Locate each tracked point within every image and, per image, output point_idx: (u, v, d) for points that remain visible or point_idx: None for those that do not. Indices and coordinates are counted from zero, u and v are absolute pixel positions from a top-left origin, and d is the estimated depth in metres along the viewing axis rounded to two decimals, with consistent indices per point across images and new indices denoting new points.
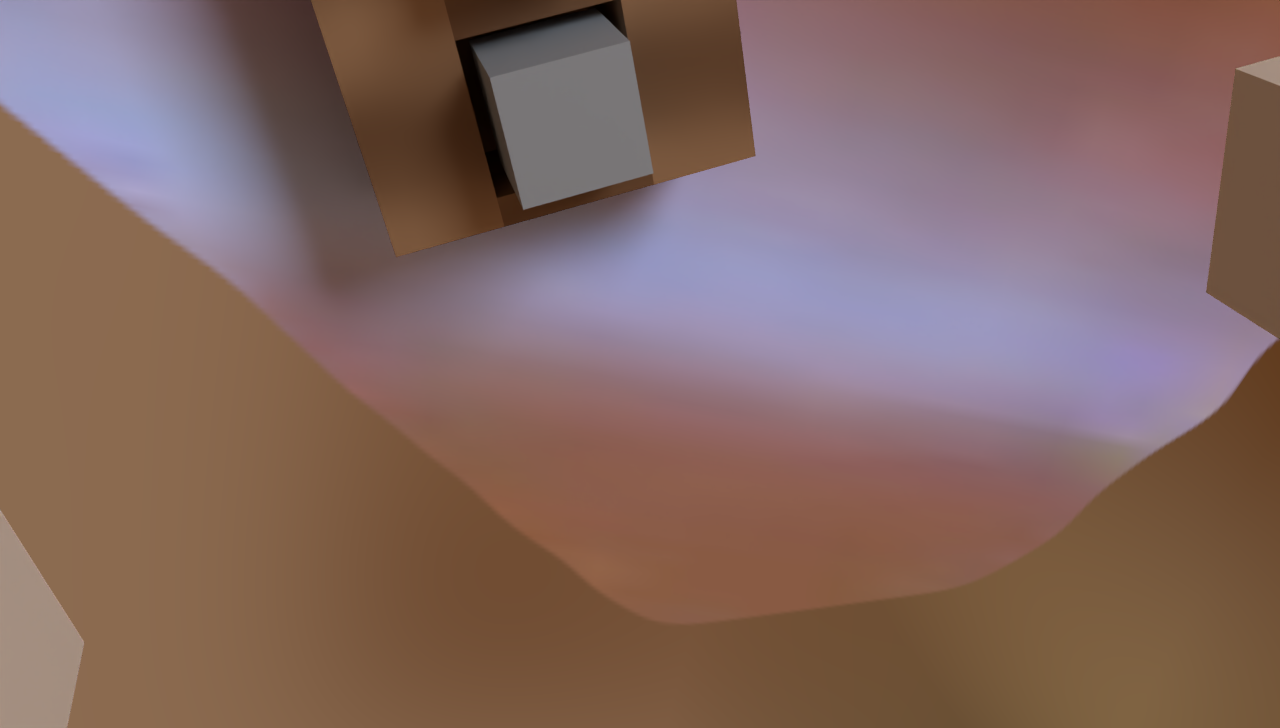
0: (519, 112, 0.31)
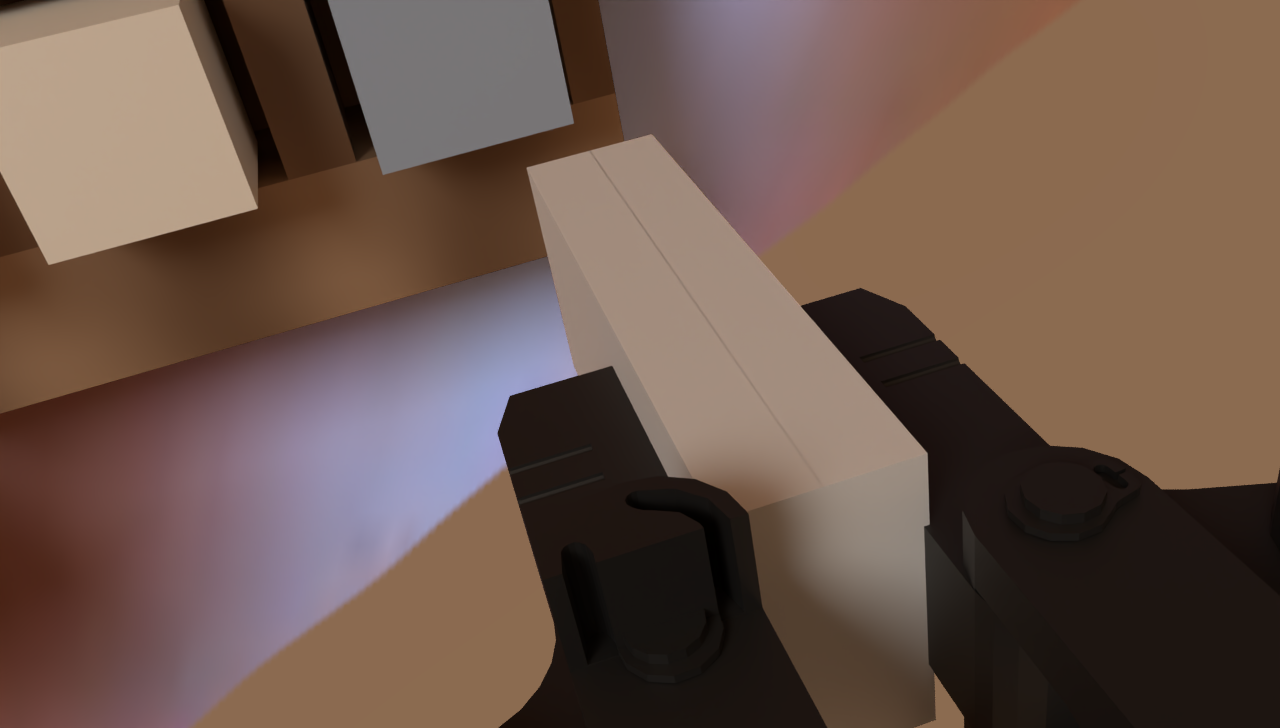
0: (431, 133, 0.22)
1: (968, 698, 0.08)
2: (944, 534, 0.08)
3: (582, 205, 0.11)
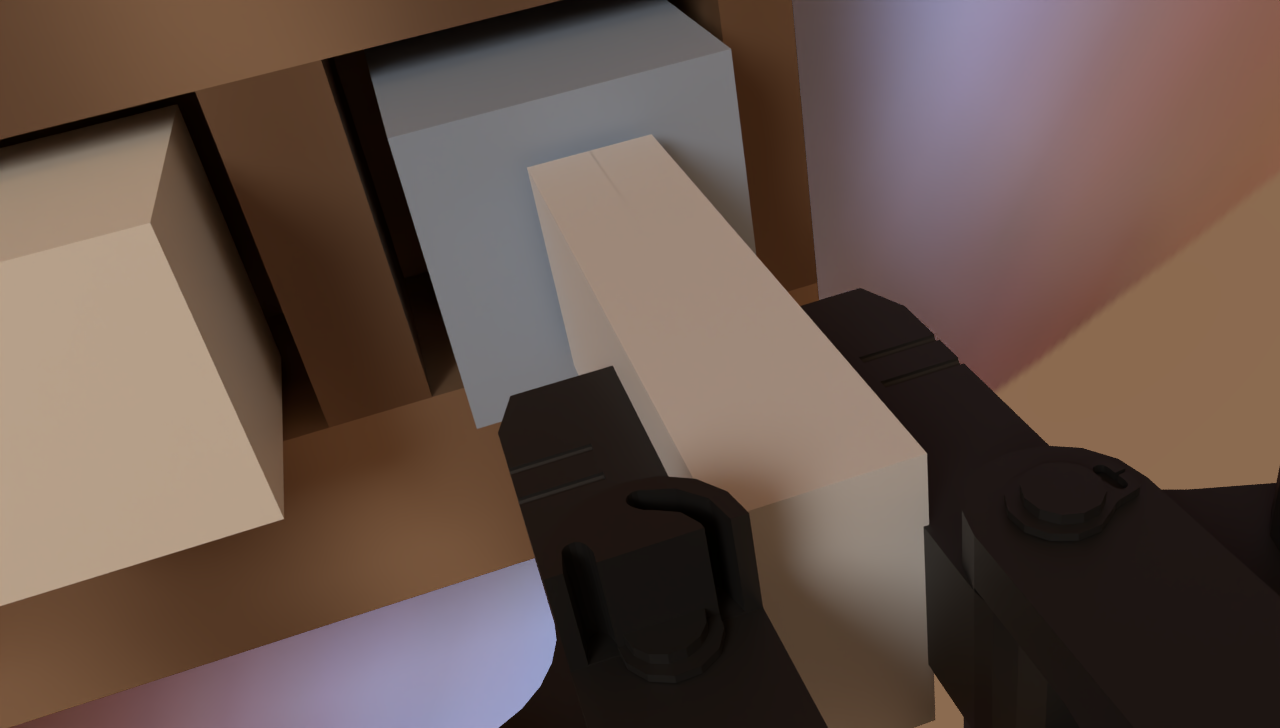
0: (552, 367, 0.14)
1: (968, 700, 0.08)
2: (944, 534, 0.08)
3: (582, 205, 0.11)
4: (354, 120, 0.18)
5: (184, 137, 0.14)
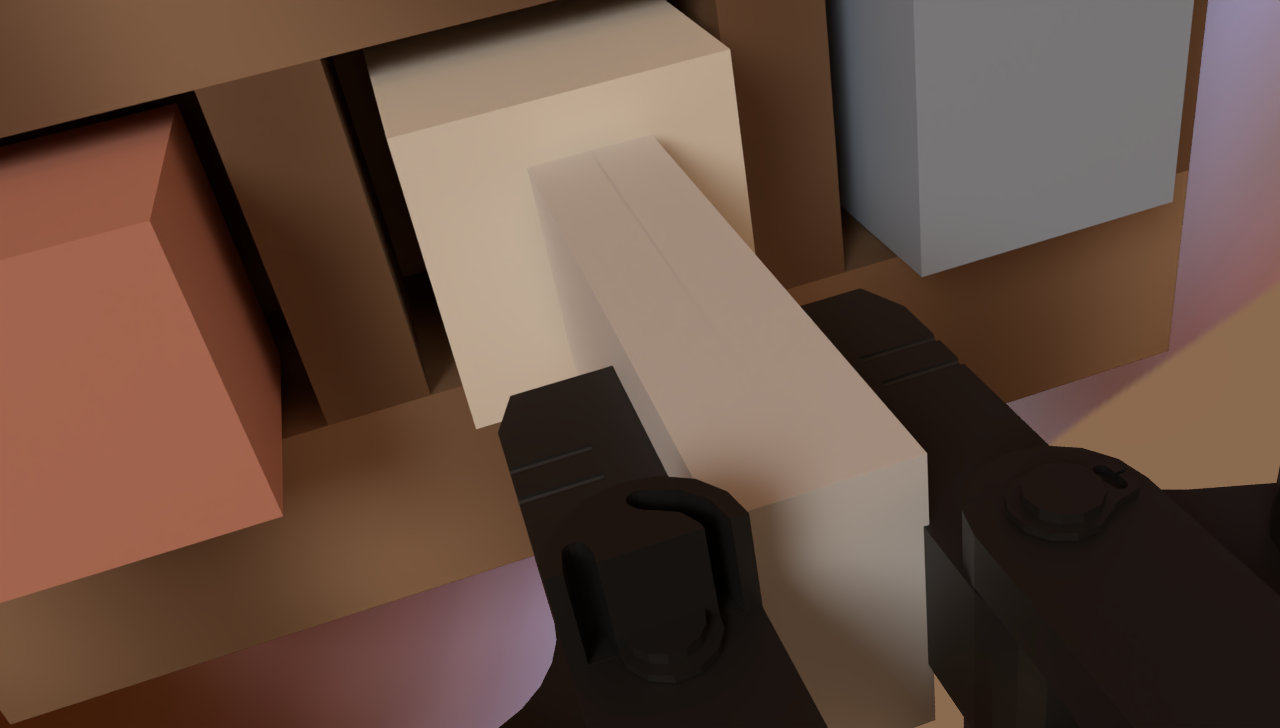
0: (995, 219, 0.15)
1: (967, 698, 0.08)
2: (944, 534, 0.08)
3: (583, 205, 0.11)
4: None
5: None
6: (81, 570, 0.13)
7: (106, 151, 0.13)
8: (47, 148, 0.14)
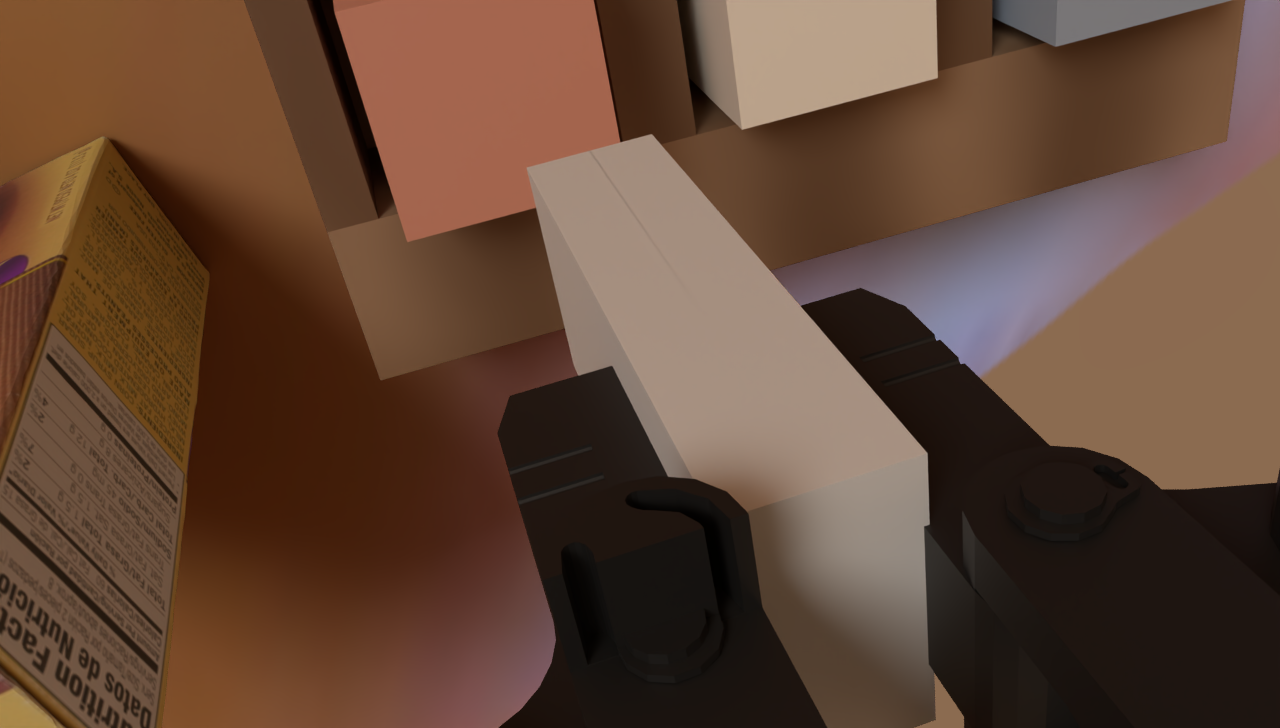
0: (1109, 4, 0.22)
1: (968, 698, 0.08)
2: (944, 534, 0.08)
3: (582, 205, 0.11)
4: None
5: None
6: (495, 214, 0.20)
7: None
8: None
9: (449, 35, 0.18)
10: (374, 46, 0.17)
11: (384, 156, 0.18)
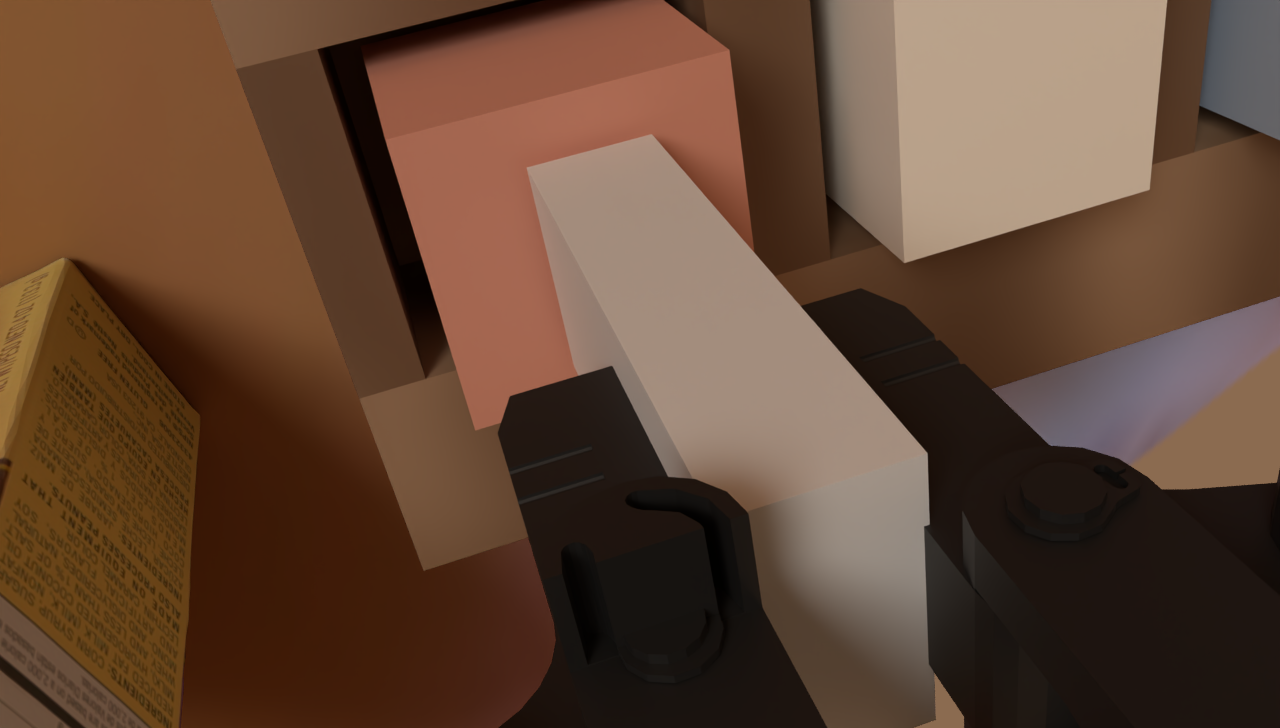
0: None
1: (968, 698, 0.08)
2: (944, 534, 0.08)
3: (582, 205, 0.11)
4: None
5: None
6: None
7: (608, 12, 0.15)
8: (538, 13, 0.15)
9: None
10: (440, 184, 0.13)
11: (448, 325, 0.13)
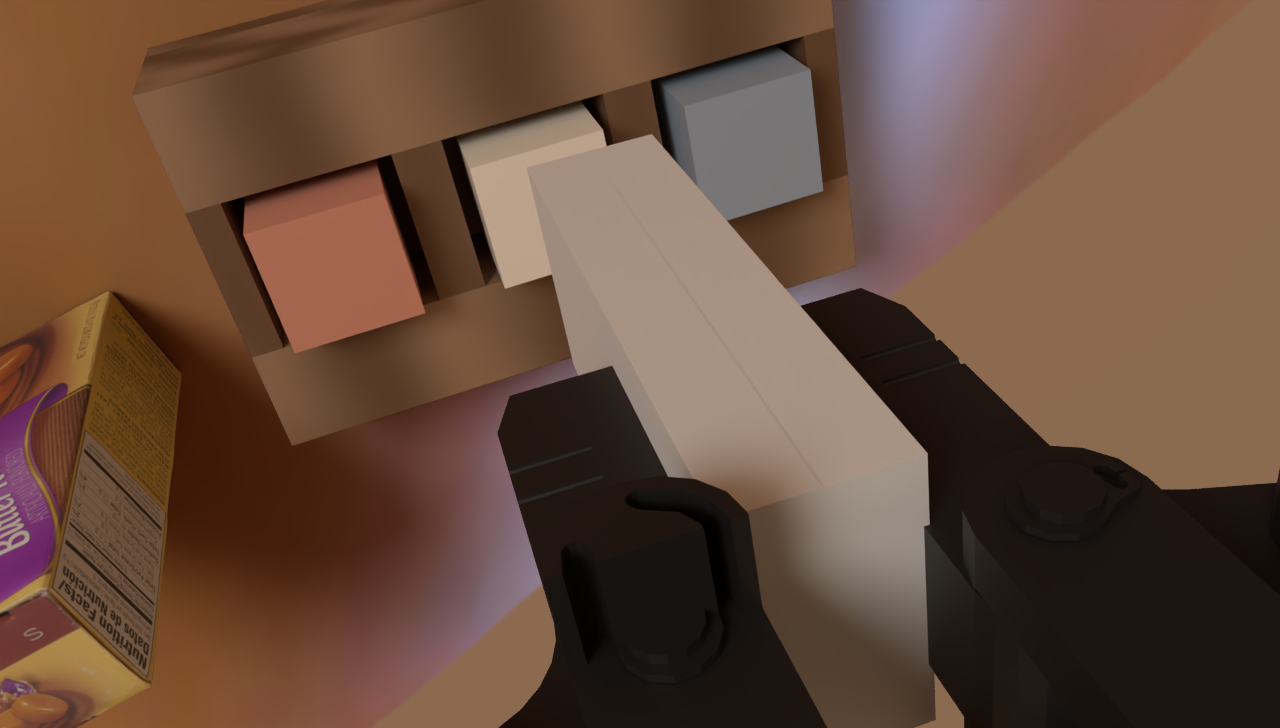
0: (736, 200, 0.35)
1: (968, 698, 0.08)
2: (944, 535, 0.08)
3: (582, 206, 0.11)
4: None
5: None
6: (347, 334, 0.33)
7: (352, 168, 0.33)
8: None
9: (309, 241, 0.31)
10: (267, 250, 0.31)
11: (277, 307, 0.32)
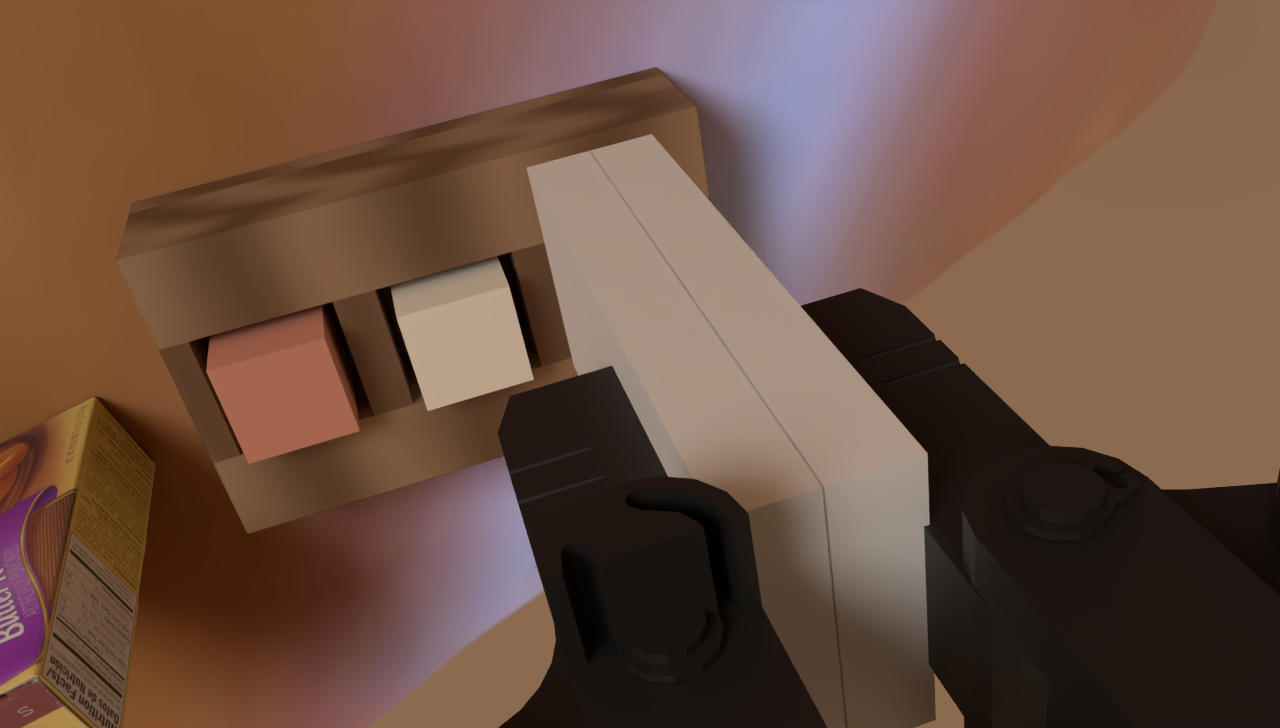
0: None
1: (968, 698, 0.08)
2: (944, 535, 0.08)
3: (582, 205, 0.11)
4: None
5: None
6: (293, 448, 0.40)
7: None
8: None
9: (262, 376, 0.38)
10: (226, 383, 0.38)
11: (234, 428, 0.39)
